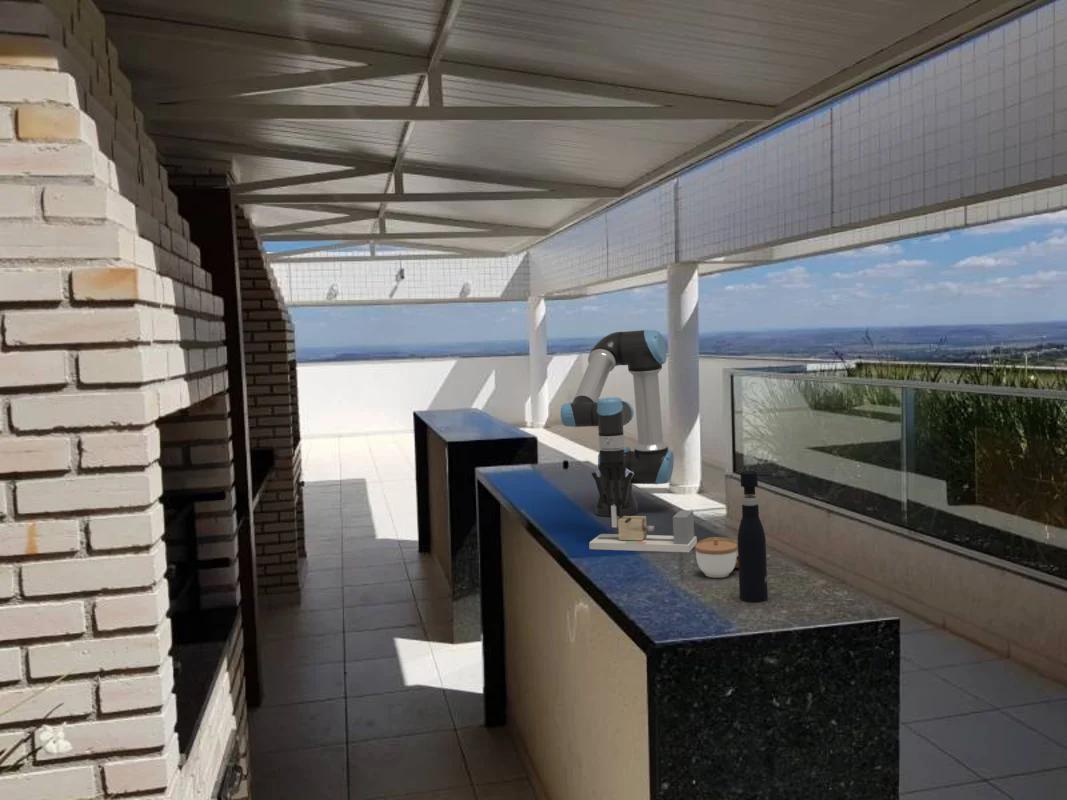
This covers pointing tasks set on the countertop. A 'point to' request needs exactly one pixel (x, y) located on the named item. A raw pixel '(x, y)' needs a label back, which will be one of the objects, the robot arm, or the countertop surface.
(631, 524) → the gauge carriage
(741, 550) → the wine bottle
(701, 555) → the lidded jar
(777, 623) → the countertop surface
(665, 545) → the bench
